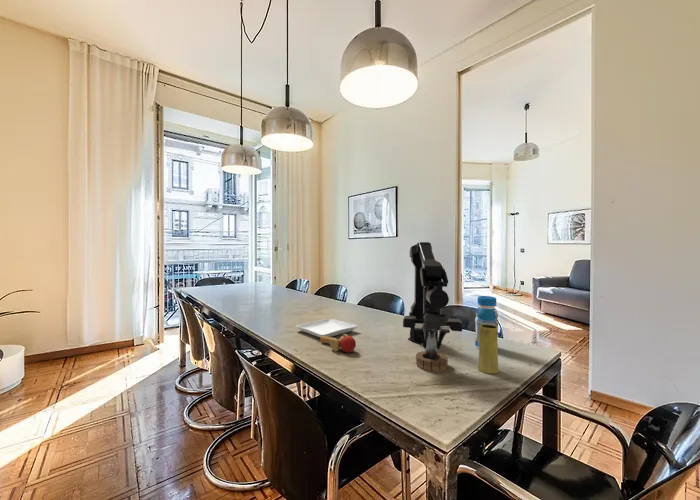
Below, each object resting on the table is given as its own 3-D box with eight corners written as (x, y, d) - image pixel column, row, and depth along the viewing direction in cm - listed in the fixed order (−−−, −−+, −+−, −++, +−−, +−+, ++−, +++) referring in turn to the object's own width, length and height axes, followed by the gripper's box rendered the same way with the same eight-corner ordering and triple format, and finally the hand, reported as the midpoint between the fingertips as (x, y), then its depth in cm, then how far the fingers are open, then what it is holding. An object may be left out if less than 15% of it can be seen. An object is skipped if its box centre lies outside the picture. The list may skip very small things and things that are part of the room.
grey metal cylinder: (431, 356, 104) (431, 327, 104) (440, 360, 101) (440, 330, 101) (422, 358, 102) (423, 329, 102) (431, 362, 99) (431, 331, 99)
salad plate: (294, 331, 141) (294, 324, 141) (329, 324, 155) (329, 317, 155) (322, 342, 125) (322, 334, 125) (358, 332, 140) (358, 325, 140)
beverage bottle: (483, 352, 115) (484, 299, 114) (470, 344, 123) (470, 295, 123) (503, 350, 116) (503, 298, 116) (488, 343, 125) (489, 295, 124)
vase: (497, 375, 94) (498, 329, 93) (476, 371, 97) (476, 326, 97) (499, 369, 99) (500, 325, 99) (479, 365, 102) (480, 322, 102)
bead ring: (431, 357, 108) (431, 349, 108) (453, 367, 100) (453, 358, 100) (409, 363, 103) (410, 354, 103) (431, 373, 95) (431, 364, 95)
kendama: (314, 348, 121) (345, 353, 109) (315, 332, 123) (345, 335, 110) (329, 347, 127) (360, 352, 114) (330, 332, 128) (360, 335, 115)
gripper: (401, 305, 96) (401, 354, 96) (464, 308, 91) (463, 360, 91) (404, 299, 107) (404, 343, 107) (460, 302, 102) (460, 348, 102)
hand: (431, 348), depth 102 cm, fingers closed on grey metal cylinder, 4 cm apart
